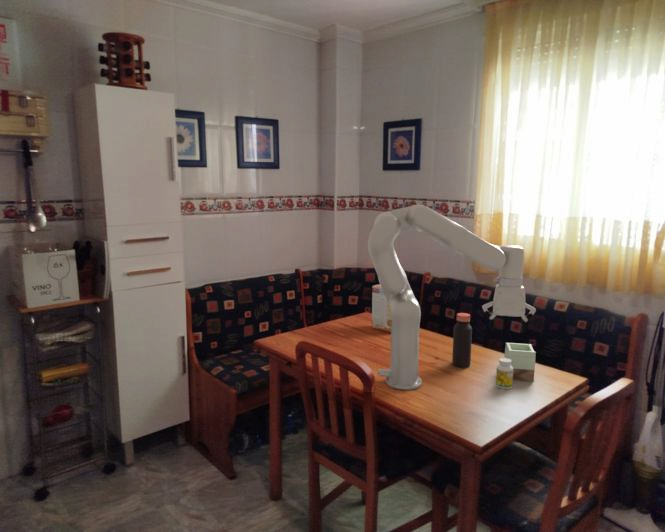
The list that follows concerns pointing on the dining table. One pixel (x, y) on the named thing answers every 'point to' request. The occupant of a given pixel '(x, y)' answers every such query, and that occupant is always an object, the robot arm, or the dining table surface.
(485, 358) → the dining table surface
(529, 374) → the block lower
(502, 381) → the supplement bottle
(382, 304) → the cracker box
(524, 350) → the small green shelf
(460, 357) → the vinegar
